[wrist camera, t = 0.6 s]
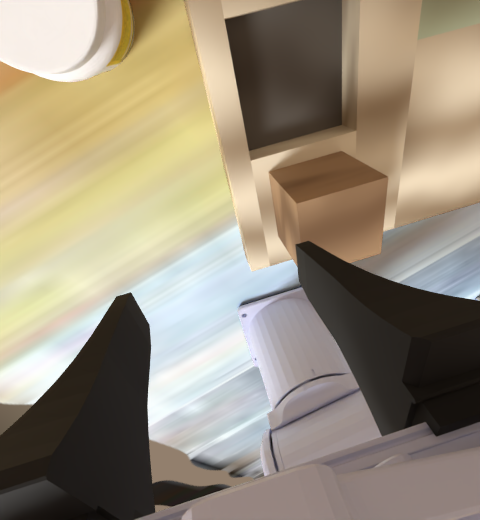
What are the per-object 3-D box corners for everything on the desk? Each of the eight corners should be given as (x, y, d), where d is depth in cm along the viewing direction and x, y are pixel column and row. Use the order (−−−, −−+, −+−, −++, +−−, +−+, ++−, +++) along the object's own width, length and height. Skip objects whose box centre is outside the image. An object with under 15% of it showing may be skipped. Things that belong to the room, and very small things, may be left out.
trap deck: (537, 169, 27) (577, 182, 24) (246, 257, 25) (255, 280, 23) (669, -157, 16) (767, -196, 13) (175, -36, 14) (178, -55, 12)
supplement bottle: (89, -76, 13) (16, -208, 6) (153, 43, 16) (149, 39, 9) (1, -16, 14) (-154, -81, 7) (78, 90, 16) (22, 118, 10)
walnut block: (341, 217, 22) (380, 253, 18) (278, 236, 22) (304, 277, 18) (341, 150, 20) (388, 176, 15) (268, 171, 19) (296, 203, 15)
